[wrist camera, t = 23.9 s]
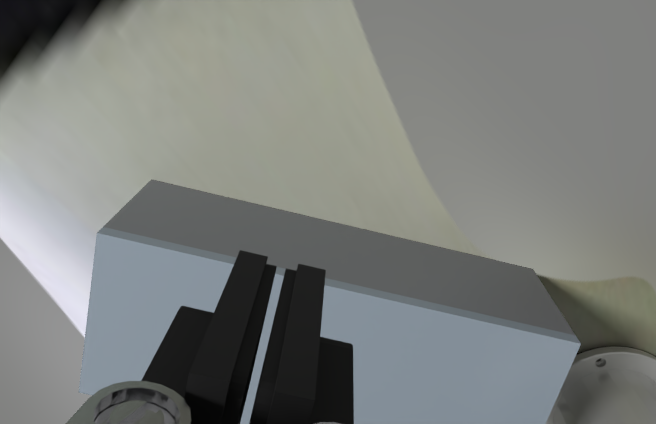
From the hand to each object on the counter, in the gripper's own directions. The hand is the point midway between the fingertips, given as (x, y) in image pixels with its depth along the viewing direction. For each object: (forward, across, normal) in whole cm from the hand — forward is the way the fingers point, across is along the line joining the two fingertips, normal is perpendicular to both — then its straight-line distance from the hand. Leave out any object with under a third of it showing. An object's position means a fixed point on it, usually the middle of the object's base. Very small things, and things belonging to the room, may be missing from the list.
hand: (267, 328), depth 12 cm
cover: (+25, -4, +17) cm, 31 cm away
